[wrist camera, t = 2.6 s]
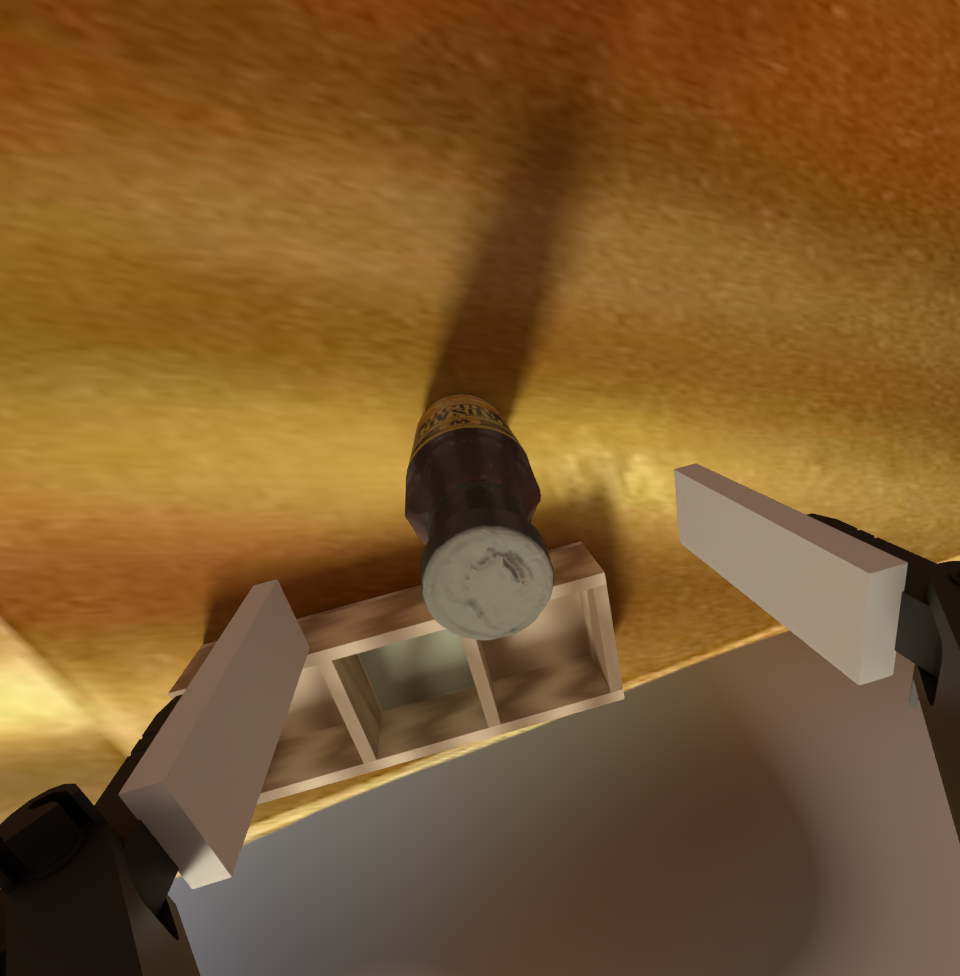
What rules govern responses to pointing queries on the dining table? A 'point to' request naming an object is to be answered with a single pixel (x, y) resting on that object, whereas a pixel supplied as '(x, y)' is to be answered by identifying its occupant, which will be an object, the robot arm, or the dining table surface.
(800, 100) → the dining table surface
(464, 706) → the condiment rack
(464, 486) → the sauce bottle
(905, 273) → the dining table surface
